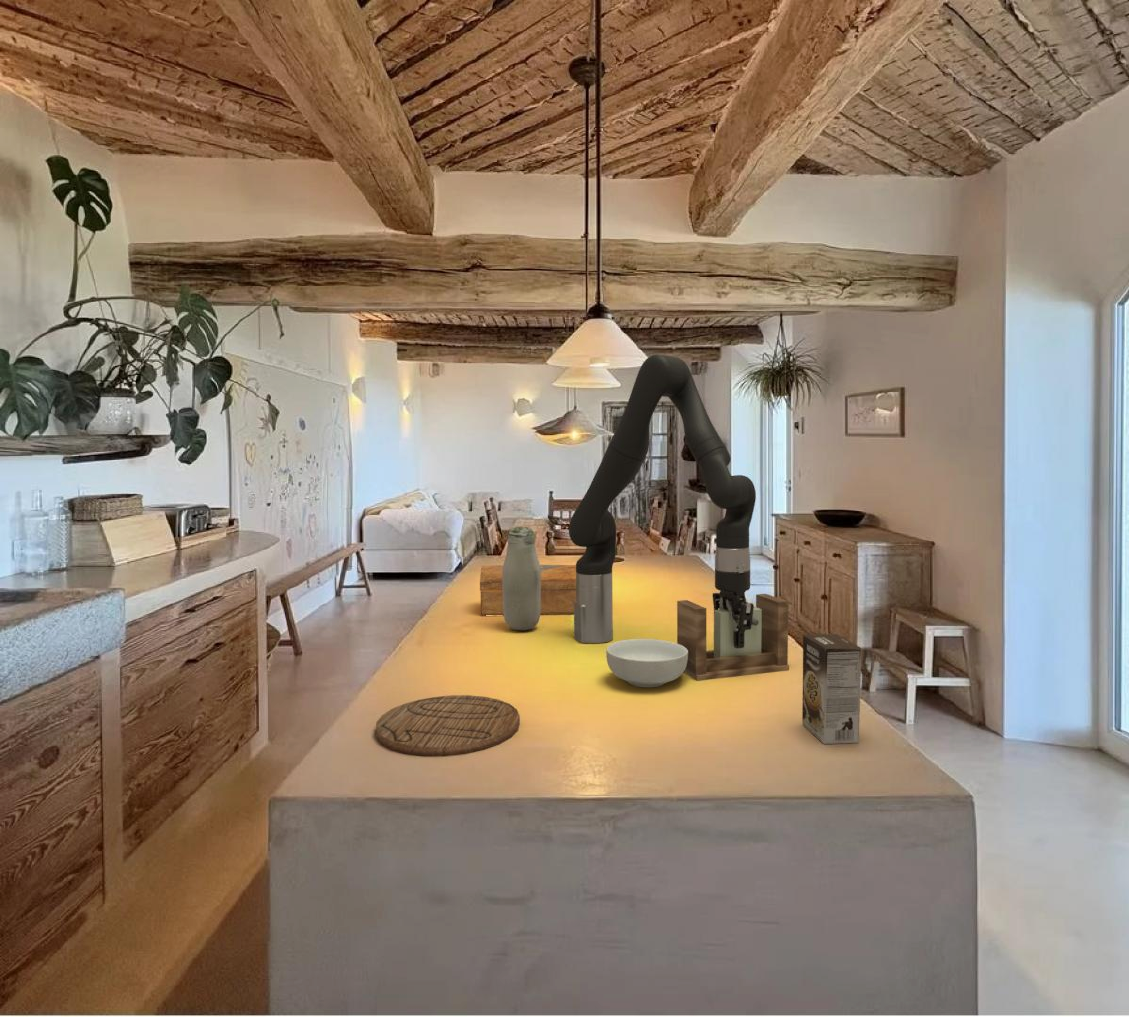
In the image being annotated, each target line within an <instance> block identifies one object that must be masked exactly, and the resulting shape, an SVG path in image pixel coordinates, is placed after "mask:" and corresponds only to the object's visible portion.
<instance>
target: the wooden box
mask: <svg viewBox="0 0 1129 1017" xmlns="http://www.w3.org/2000/svg"><path fill="white" fill-rule="evenodd" d="M503 565H504V564H501V565H482V566H481V569H480V577H479V591H480V616H481V615H482V616H481V617H487V616H486V615H504V614H503V590H502V570H503ZM540 569H541V613H540V616H574V601H576V564H540Z"/></svg>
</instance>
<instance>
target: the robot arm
mask: <svg viewBox="0 0 1129 1017" xmlns="http://www.w3.org/2000/svg"><path fill="white" fill-rule="evenodd" d="M662 397H666V398H668V399H669V400H670V401H671V402H672V403H673V405H674V406H675V408H676V410H677V411H678V413H679V415H680V417H681V420H682V421H681V422H682V424H683V432H684V437H685V442H686V444H687V447H688V449H689V450H690V453H691V454H692V457H693V458H694V460H695V461H696V462H695V463H697V465H698V467H699V469H700V470H701V475H702V479H703V483H704V486H705V490H706V494H707V495H708V497H709V499H710V500H711V502H712V503H713V504H714V505H715V506H717V507H718V508H720V509H722V510H725V514H724V517H723V518H722V519H721V520H720V521H718V522H717V524H716V528H715V553H714V587H715V589H716V590H717V591H719V592H713V593H712V604H713V611H714V610H721V609H725V610H728V611H729V616H730V620H731V621H732V622H733V627H734V647H735V648H743V647H744V633H745V630H750V629H751V625H752V617H753V609H754V607H755V606H754V605H755V604H754V603H753V602H751V603H749V602H747V599H746V592H747V591H749V590H750V589H751V553H750V526H751V522H752V519H753V516H754V514H753V513H754V510H755V506H756V500H757V493H756V487H755V485H754V483H753V480H751V479H750V478H749V477H748V476H747V475H742V474H737V475H731V473H730V470H729V467H728V466H729V465H730V463H731V461H732V460H731V459H732V458H731V455H730V452H729V451H728V449H727V447H726V445H725V443H724V442H723V440H722V439H721V437H720V435H719V433H718V432H717V430H716V428H715V426H714V425H713V423H712V420H711V419H710V416H709V415H708V412H707V409H706V408H705V406H704V403H703V401H702V398H701V395H700V393H699V390H698V388H697V385H696V382H695V380H694V377H693V374H692V372H691V370H690V368H689V366H688V364H687V363H686V362H685V360H684V359H683V360H682V358H679V357H677V356H670V355H665V354H652V355H650V356H649V357H647V358H646V359H645V360H644V361H643V363H642V364H641V366H640V368H639V370H638V372H637V374H636V377H635V381H634V383H633V387H632V390H631V392H630V396H629V398H628V401H627V404H626V407H625V409H624V411H623V414H622V415H621V417H620V420H619V422H618V425H617V427H616V429H615V432H614V433H613V436H612V437H611V438H610V441H609V443H608V446H607V448H606V449H605V452H604V454H603V457H602V459H601V461H600V464H599V466H598V468H597V470H596V471H595V474H594V476H593V478H592V480H591V483H590V485H589V487H588V488H587V491H586V492H585V494H584V496H583V497H582V499H581V500H580V502H579V504H578V505H577V507H576V509H575V511H574V512H573V514H572V516H571V518H570V520H569V526H568V535H569V538H570V540H571V542H572V543H573V544H574V545H575V546H577V547H582V548H585V551H584V552H583V555H582V556H581V557H580V558H578V559H577V561H576V563H575V565H576V601H574V615H573V629H574V630H573V633H574V634H573V635H574V639H576V640H577V641H579V642H580V643H581V644H585V643H586V644H603V643H607V642H610V641H612V640H613V639H614V629H613V628H614V620H613V618H614V614H613V613H614V612H613V609H614V608H613V606H614V605H613V602H614V601H613V600H614V599H613V565H614V563H615V560H616V552H617V548H616V547H617V525H616V521H615V517H614V515H613V514H612V513H611V512H610V511H609V510H608V509H609V508H610V506H611V504H612V503H614V500H615V499H616V498H617V497H618V496H619V495H620V494H621V493H622V492H623V491H624V490H625V489H626V488H627V487H628V486H629V485H630V484H631V482H632V481H634V479H635V478H636V476H637V475H638V473H639V471H640V470H641V467H642V465H643V464H644V461H645V459H646V457H647V454H648V452H649V448H650V424H651V421H652V420H651V419H652V416H653V414H654V412H655V410H656V407H657V405H658V404H659V402H660V400H661V398H662ZM735 615H740V616H735ZM737 620H739V624H738V623H737ZM745 620H747V624H746V621H745Z"/></svg>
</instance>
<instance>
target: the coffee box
mask: <svg viewBox="0 0 1129 1017" xmlns="http://www.w3.org/2000/svg"><path fill="white" fill-rule="evenodd" d="M861 672H862V647H860V646H859V645H857V644H855V643H853V642H851V641H850V640H848V639H847V638H844V637H843V636H841V635H839V634H838V633H832V634H826V633H811V634H803V635H802V705H801V706H802V715H801V716H802V718H801V719H802V725H803V727H805V728H806V729H807V730H808V731H809V732H810V733H811V734H812V735H813V736H815V738H817V739H818V740H819V741H820V742H821V743H822V744H824V745H837V744H838V745H839V744H856V743H857V744H858V743H859V742H860V711H861V709H860V706H861V704H860V703H861V678H862V677H861V676H862V674H861Z"/></svg>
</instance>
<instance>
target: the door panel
mask: <svg viewBox="0 0 1129 1017" xmlns="http://www.w3.org/2000/svg"><path fill="white" fill-rule="evenodd" d="M735 616H740V615H735ZM745 621H746V624H747V620H745ZM737 623H738V624H739V620H737ZM761 623H762V609H759V608H757V607H756V606H754V609H753V617H752V625H751V629H750V630H745V633H744V647H743V648H735V647H734V627H733V622H732V621H731V620H730V616H729V611H728V610H725V609H721V610H719V609H718V610H714V609H713V650H714V658H720V657H730V656H739V655H749V654H758V653H761Z"/></svg>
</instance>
